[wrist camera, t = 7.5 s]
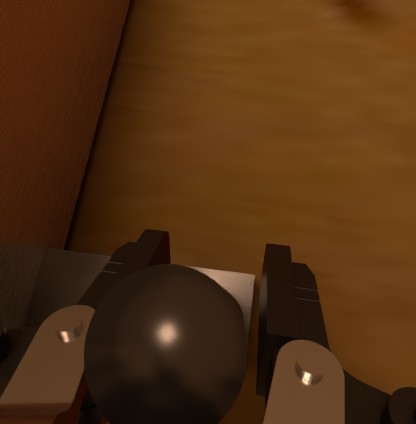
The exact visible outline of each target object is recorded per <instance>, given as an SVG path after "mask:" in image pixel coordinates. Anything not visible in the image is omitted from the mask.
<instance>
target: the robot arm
mask: <svg viewBox="0 0 416 424" xmlns="http://www.w3.org/2000/svg"><path fill="white" fill-rule="evenodd" d="M159 264H170V242H169V233H168V232H166V231H158V230H149V229H146V230H145V231H144V232H143V233H142V235H141V236H140V238H139V239H138V241H137V242H136V243H134V242H128V243H126V244H125V245H123V246H122V247H120V248H119V249H117V250H116V251H115V253H114V254H113V255H112V257H111V258H110V259H109V262H108V263H106V265H105V266H104V268H103V269H102V272H100V273H99V274H98V276H97V277H96V278H95V280H94V281H93V282H92V284H91V285H90V287H89V288H88V289H87V291H86V292H85V293H84V295H83V296H82V297H81V299H80V300H79V301H78V303H77V304H76V305H73V306H69V307H65V308H63V309H60V310H58V311H56V312H54V313H53V314H52V315H50V316H49V317H48V318H47V319H46V320H45V321H44V322H43V323H42V324H41V326H34V327H26V328H17V329H9V330H6V328H5V325H4V323H3V321H2V319H1V318H0V424H106V423H107V419H106V418H105V417H104V416H103V414H102V413H101V412H100V410H99V409H98V407H97V405H96V404H95V402H94V400H93V398H92V395H91V393H90V391H89V387H88V384H87V381H86V376H85V370H84V344H85V339H86V333H87V330H88V327H89V323H90V321H91V319H92V316H93V314H94V312H95V310H96V308H97V306H98V305H99V303H100V302H101V300H102V299H103V298H104V296H105V295H106V294H107V293H108V292H109V290H110V289H111V288H112V287H113V286H114V285H116V284H117V283H118V282H119V281H120V280H122V279H123V278H125V277H126V276H128V275H129V274H131V273H133V272H135V271H137V270H140V269H142V268H145V267H148V266H153V265H159ZM256 395H261V396H265V417H264V421H263V424H416V388H414V387H404V388H400V389H398V390H396V391H395V392H394V393H393V394H392V395H389V394H387V393H385V392H382V391H380V390H378V389H376V388H374V387H372V386H369V385H367V384H365V383H363V382H361V381H359V380H357V379H356V378H354V377H353V376H351V375H350V374H348V373H347V372H346V371H345V370H344V369H343V368H342V367H341V365H340V363H339V361H338V360H337V358H336V357H335V356H334V355H333V354H332V353H331V351H330V348H329V345H328V340H327V335H326V330H325V325H324V320H323V315H322V310H321V305H320V302H319V295H318V291H317V285H316V280H315V276H314V274H313V273H312V272H311V270H310V269H309V268H308V266H307V265H306V264H302V263H294V262H292V260H291V251H290V246H285V245H276V244H266V249H265V256H264V263H263V270H262V277H261V285H260V298H259V326H258V355H257V385H256Z"/></svg>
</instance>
